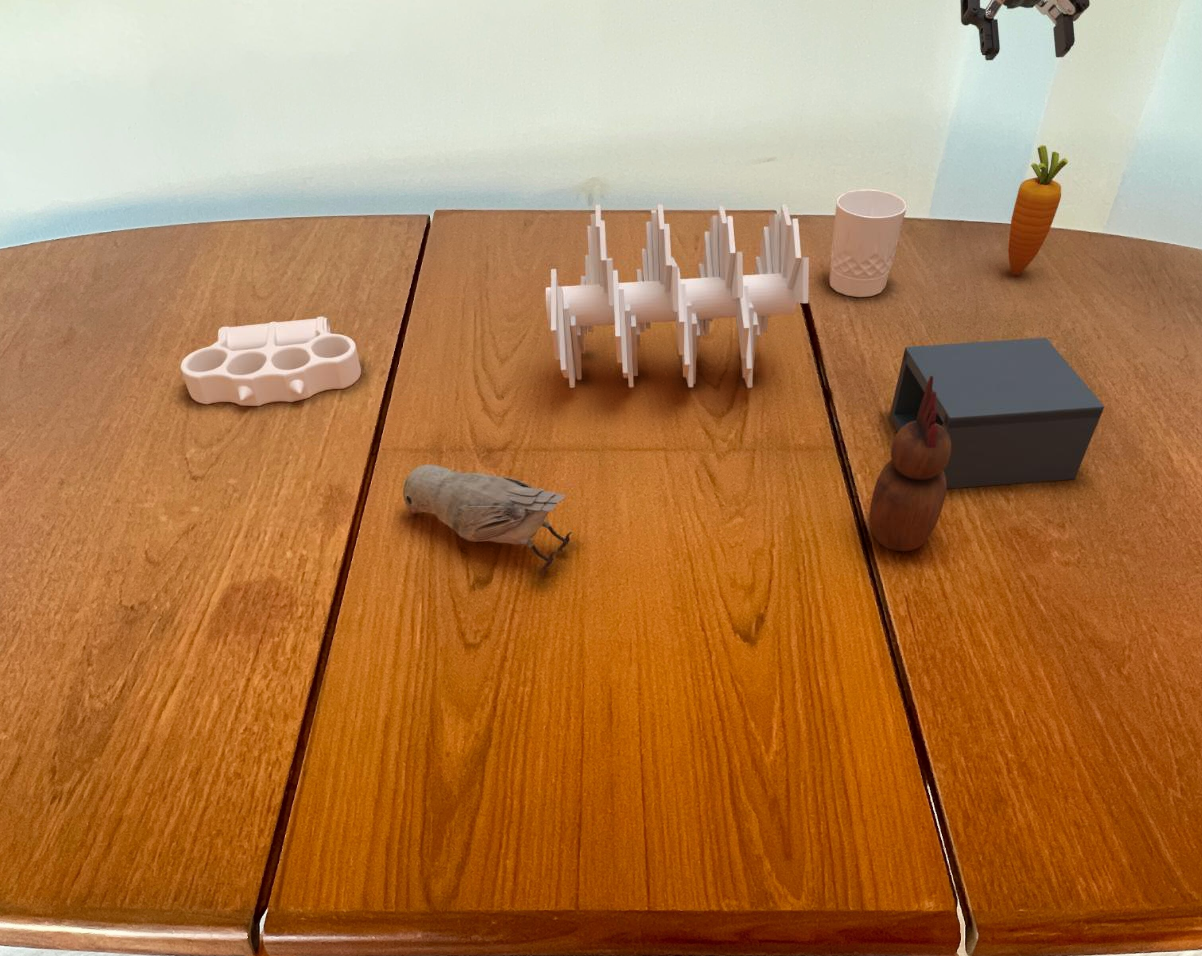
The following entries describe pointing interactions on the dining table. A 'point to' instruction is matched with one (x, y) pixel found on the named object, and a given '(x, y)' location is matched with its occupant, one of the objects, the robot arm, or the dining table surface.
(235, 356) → the white brass knuckles
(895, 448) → the wooden figurine
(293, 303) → the dining table surface
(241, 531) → the dining table surface
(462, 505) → the decorative bird
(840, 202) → the white cup
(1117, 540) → the dining table surface
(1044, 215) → the carrot
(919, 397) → the shelf
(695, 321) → the spiral staircase
